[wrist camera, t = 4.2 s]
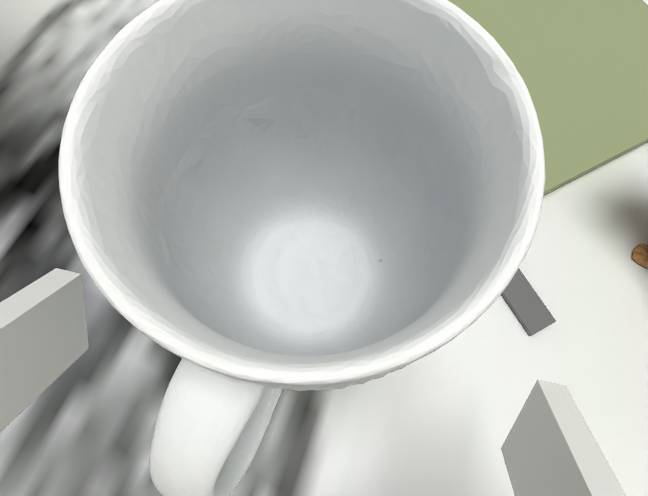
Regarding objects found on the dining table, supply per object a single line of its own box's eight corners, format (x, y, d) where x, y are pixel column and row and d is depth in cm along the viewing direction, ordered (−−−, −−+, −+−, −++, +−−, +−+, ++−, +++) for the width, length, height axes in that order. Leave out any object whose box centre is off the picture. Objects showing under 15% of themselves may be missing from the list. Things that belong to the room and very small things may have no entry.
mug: (348, 516, 18) (418, 796, 6) (127, 417, 19) (-220, 467, 7) (441, 225, 23) (591, 24, 10) (259, 160, 24) (198, -90, 11)
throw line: (327, 36, 27) (327, 32, 27) (346, 28, 27) (347, 24, 27) (529, 335, 21) (532, 335, 20) (552, 322, 21) (556, 321, 21)
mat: (376, 17, 27) (378, 4, 27) (562, -56, 30) (569, -70, 29) (517, 209, 23) (526, 201, 22) (722, 103, 26) (737, 92, 25)
